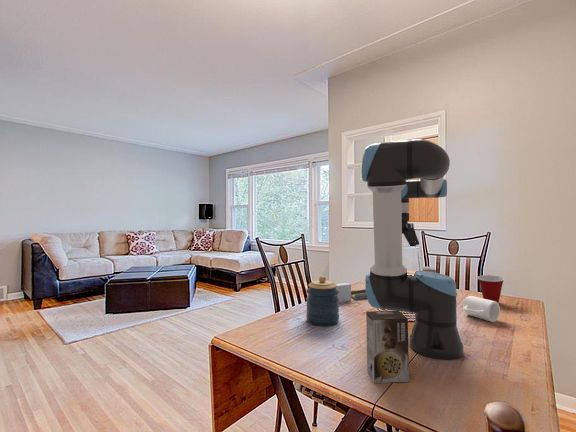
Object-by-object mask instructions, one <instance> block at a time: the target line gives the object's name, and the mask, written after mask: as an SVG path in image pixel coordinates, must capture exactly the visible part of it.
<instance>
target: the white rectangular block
mask: <svg viewBox="0 0 576 432" xmlns="http://www.w3.org/2000/svg"><path fill="white" fill-rule="evenodd" d="M335 284H336V285H337V287H336V289H337V290H339V293H338V299H339V303H343V302H350V301H352V298H351V291H352V284H351V283H348V282H342V283H335Z"/></svg>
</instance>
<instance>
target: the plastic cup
mask: <svg viewBox="0 0 576 432" xmlns="http://www.w3.org/2000/svg"><path fill="white" fill-rule="evenodd" d="M476 278H477V279H478V281H479V286H480V289H481V294H482V298H483V299H487V300H491V301H495V302H497V303H498V304H499V303H500V298H501V293H502V290H503V289H502V288H503V283H504V281H505V277H502V276H499V275H491V274H490V275H489V274H487V275H486V274H485V275H484V274H483V275H479V276H477V277H476Z"/></svg>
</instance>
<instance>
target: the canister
mask: <svg viewBox="0 0 576 432" xmlns="http://www.w3.org/2000/svg"><path fill="white" fill-rule="evenodd" d="M336 284H337V283H334V281H332V280H328V279H326V277H325V275H321V276H320V277H319V278H318V279H316V280H312V281H311V282H310V283H308V288H307V289H305V290H306V291H305V292H306V294H307V297H306V299H305V300H306V301H305V302H306V316H305V317H306V321H307V322H308V323H309V324H311V325H314V326H318V327H319V326H320V327H328V326H334V325H336V324H338V323H339V322H340V321H339V320H340V311H339V305H340V302H339V299H338V293H339V290H337V289H336V287H337V285H336Z"/></svg>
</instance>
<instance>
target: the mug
mask: <svg viewBox="0 0 576 432" xmlns="http://www.w3.org/2000/svg"><path fill="white" fill-rule="evenodd" d="M462 310H463V312H464V313H465V314H466V315H468V316H471V317H474V318H477V319H480V320H484V321H487V322H491V323H494V322H496V321H498V319H499V318H500V316H501V315H500V314H501V307H500V304H499V302H498V303H497V302H495V301H491V300H487V299H483V297H479V296H475V295H474V296H473V295H468V296H467V297H466V298H465V299H464V300H463V307H462Z"/></svg>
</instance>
